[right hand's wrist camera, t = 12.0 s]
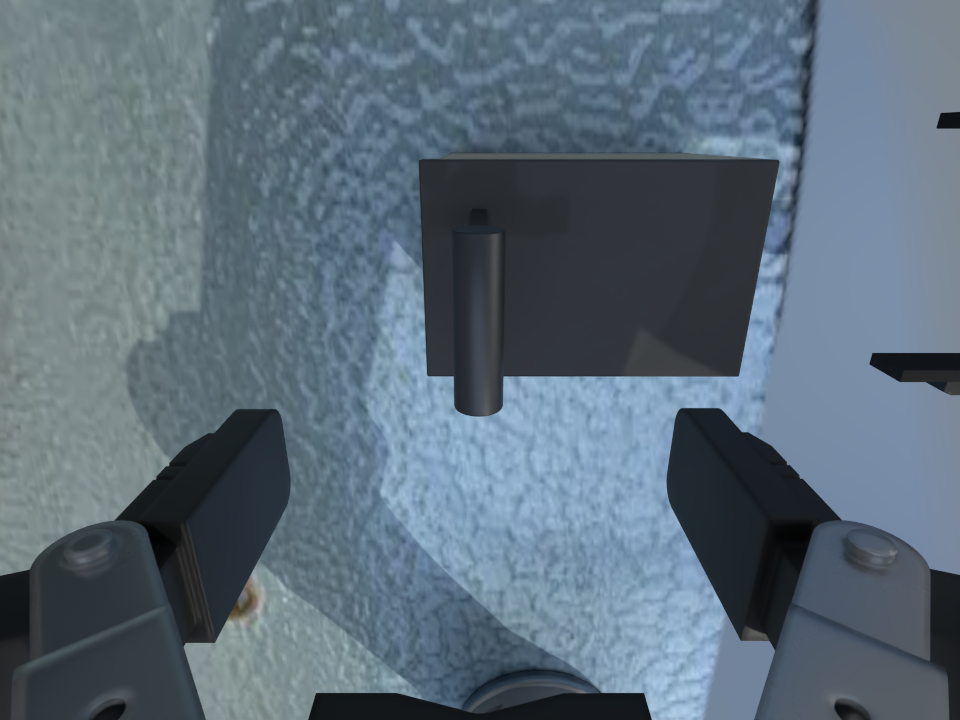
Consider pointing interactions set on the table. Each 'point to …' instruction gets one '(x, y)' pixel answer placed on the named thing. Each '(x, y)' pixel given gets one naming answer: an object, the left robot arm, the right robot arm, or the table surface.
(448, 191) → the lid
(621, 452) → the table surface
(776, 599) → the right robot arm
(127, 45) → the table surface
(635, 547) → the table surface
